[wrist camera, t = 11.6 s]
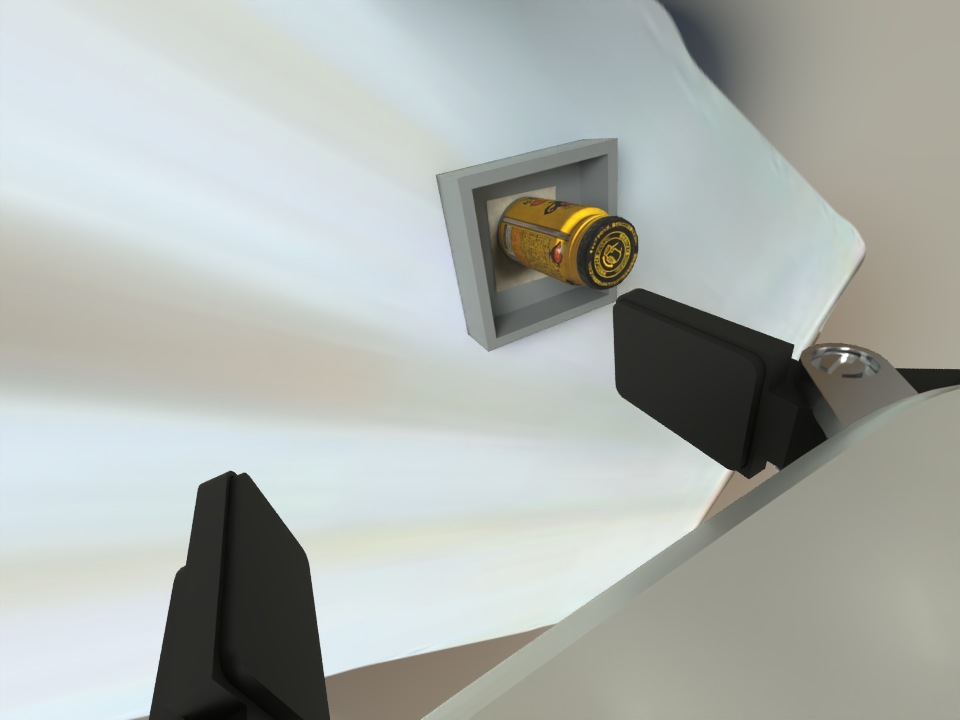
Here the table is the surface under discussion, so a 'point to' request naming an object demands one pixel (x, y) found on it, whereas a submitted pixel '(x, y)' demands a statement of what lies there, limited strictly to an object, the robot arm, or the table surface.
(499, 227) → the condiment
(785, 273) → the table surface
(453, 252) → the box
